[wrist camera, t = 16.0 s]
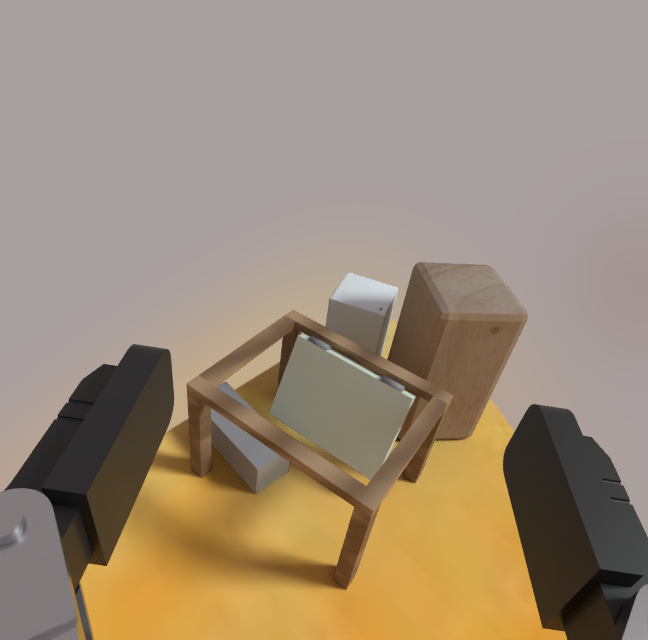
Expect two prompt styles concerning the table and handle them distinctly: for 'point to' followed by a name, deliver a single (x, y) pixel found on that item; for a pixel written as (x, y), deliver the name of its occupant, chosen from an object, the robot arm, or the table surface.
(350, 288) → the supplement box
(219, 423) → the basalt block
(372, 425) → the flap
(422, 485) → the table surface
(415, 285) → the wooden block
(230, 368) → the stand
